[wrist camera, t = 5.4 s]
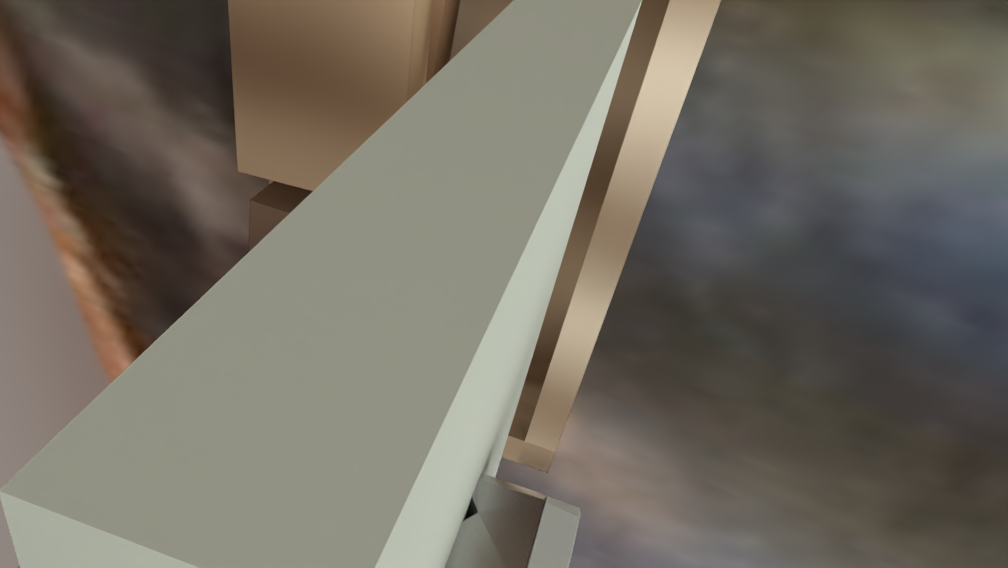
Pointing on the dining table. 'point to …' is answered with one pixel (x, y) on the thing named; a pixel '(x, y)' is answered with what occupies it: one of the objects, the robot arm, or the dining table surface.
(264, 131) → the offcut top
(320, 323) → the sheet
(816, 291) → the dining table surface
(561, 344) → the rack
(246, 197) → the dining table surface
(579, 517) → the robot arm
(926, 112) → the dining table surface
